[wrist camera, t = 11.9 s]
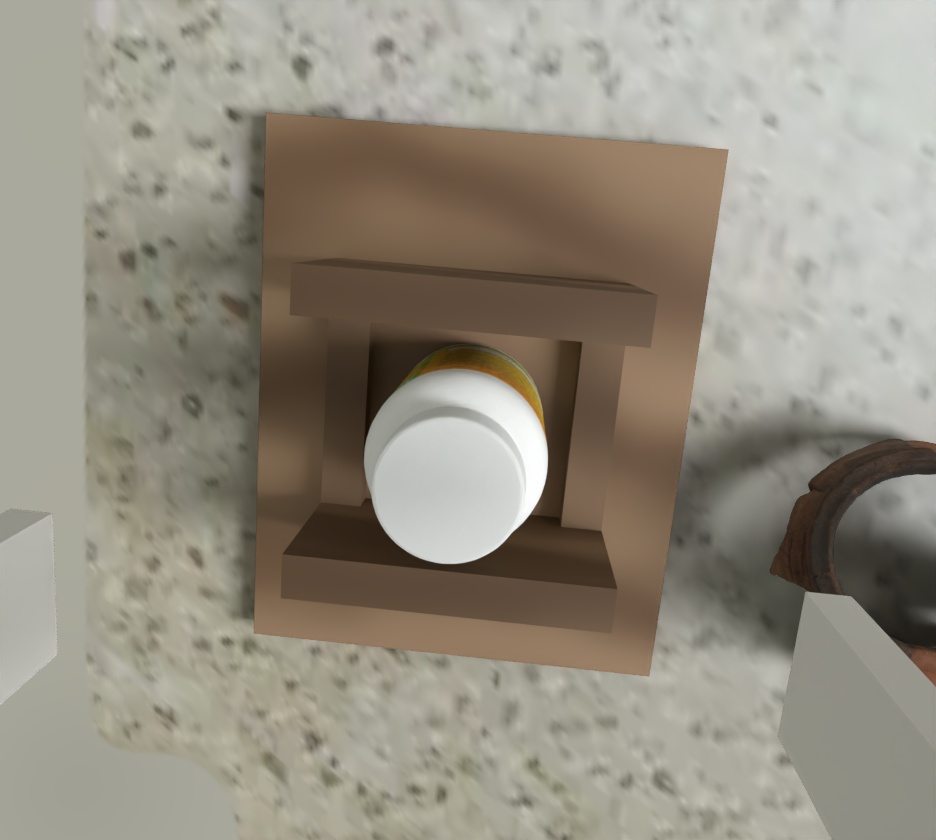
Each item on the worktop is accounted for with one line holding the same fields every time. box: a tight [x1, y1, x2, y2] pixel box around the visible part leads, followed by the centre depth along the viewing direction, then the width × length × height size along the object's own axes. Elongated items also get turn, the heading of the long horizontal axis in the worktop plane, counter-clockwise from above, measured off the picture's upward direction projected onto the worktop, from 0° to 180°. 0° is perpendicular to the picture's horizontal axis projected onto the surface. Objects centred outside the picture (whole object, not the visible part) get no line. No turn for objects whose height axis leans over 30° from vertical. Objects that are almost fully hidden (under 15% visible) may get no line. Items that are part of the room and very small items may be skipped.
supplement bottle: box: [364, 344, 548, 564], centre depth 25 cm, size 5×5×10 cm
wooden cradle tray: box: [254, 113, 728, 676], centre depth 27 cm, size 20×16×7 cm
